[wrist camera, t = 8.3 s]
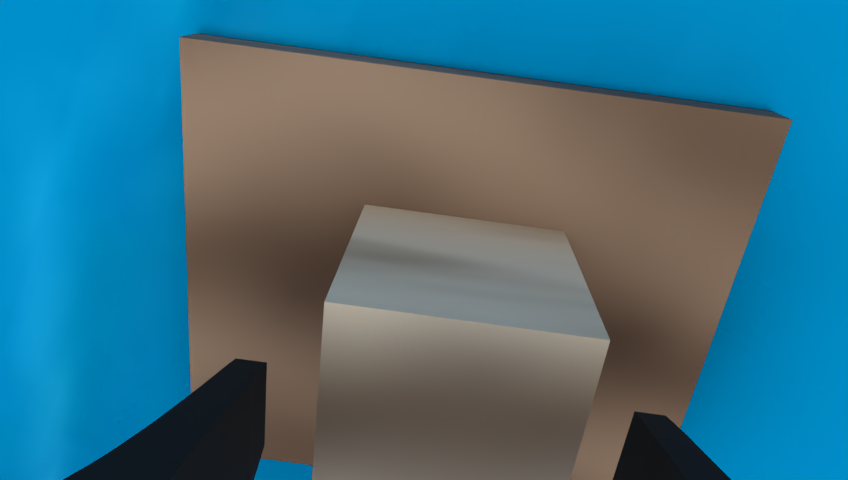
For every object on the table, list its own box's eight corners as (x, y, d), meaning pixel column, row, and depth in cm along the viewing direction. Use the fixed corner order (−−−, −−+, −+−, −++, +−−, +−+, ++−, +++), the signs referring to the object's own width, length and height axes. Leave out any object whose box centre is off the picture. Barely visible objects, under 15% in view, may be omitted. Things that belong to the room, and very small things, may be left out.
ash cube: (525, 394, 17) (550, 546, 13) (349, 370, 17) (310, 513, 13) (564, 231, 15) (610, 340, 11) (364, 204, 15) (324, 301, 11)
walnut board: (641, 485, 20) (650, 510, 19) (205, 426, 20) (192, 449, 19) (771, 111, 15) (792, 119, 14) (196, 33, 15) (179, 37, 14)
